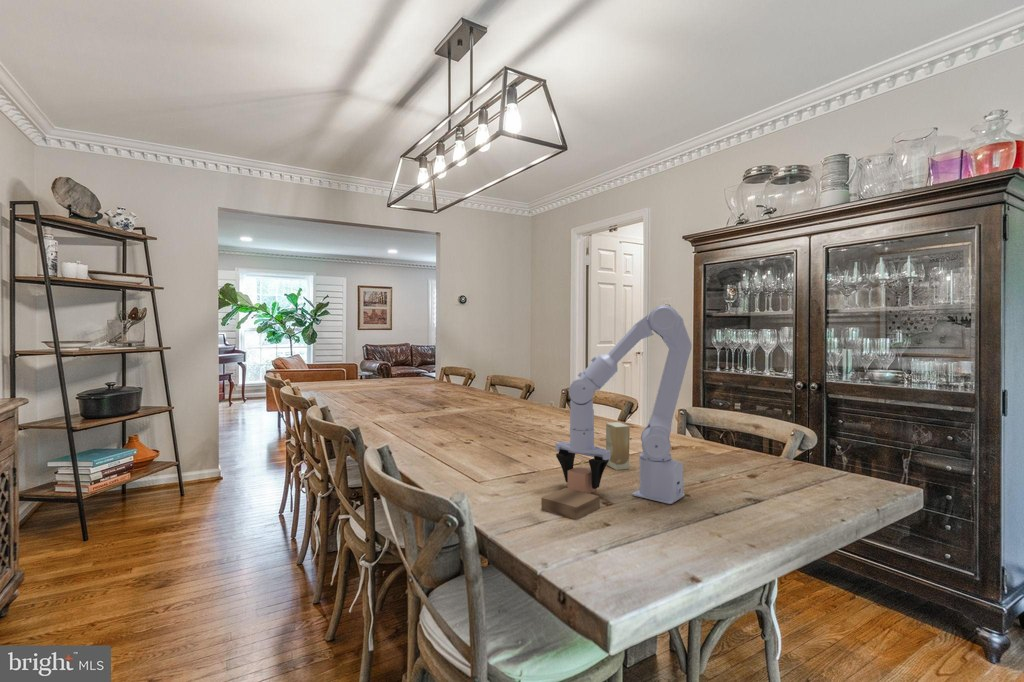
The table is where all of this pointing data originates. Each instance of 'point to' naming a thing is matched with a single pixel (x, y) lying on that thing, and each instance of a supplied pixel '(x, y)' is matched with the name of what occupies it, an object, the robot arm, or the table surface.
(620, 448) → the skincare box
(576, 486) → the terracotta cube
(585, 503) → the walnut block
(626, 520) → the table surface
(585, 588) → the table surface
